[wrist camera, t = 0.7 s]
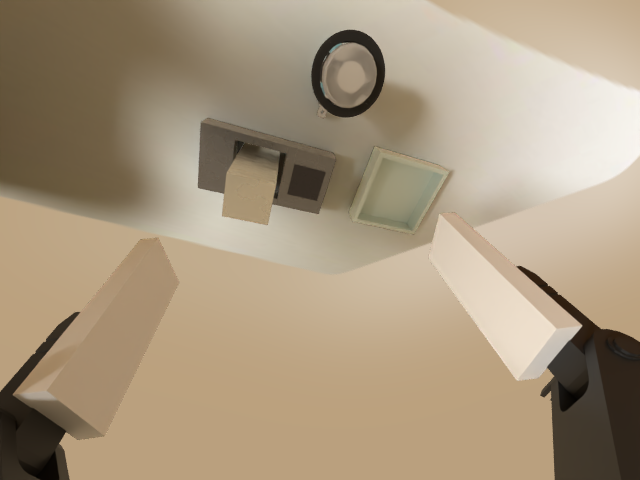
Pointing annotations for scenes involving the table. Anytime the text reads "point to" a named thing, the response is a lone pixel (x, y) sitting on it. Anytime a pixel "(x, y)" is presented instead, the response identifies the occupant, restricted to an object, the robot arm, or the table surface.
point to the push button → (347, 74)
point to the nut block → (251, 184)
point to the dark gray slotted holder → (300, 161)
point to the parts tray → (396, 191)
